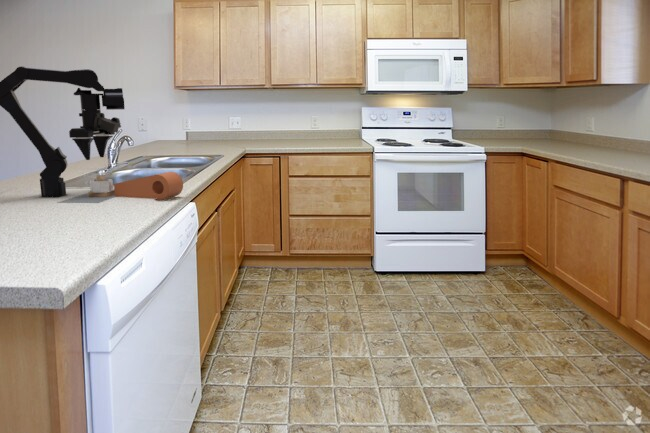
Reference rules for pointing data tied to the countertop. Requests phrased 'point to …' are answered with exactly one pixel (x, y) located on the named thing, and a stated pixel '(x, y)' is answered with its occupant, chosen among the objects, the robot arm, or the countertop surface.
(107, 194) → the tan stamp
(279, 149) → the countertop surface
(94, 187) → the collar
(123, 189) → the crank
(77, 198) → the mat
